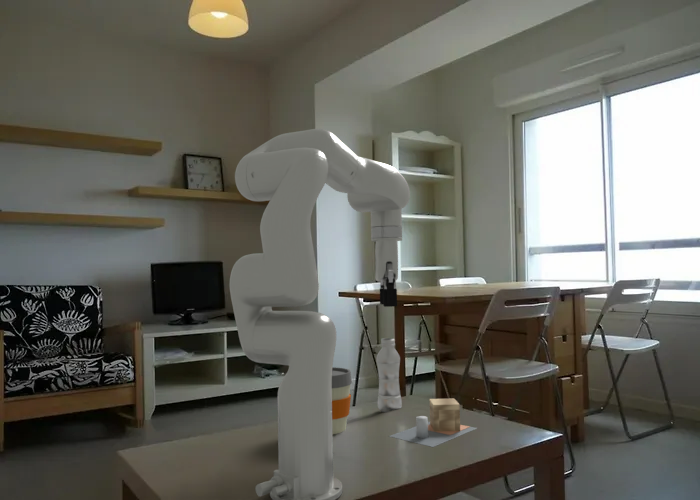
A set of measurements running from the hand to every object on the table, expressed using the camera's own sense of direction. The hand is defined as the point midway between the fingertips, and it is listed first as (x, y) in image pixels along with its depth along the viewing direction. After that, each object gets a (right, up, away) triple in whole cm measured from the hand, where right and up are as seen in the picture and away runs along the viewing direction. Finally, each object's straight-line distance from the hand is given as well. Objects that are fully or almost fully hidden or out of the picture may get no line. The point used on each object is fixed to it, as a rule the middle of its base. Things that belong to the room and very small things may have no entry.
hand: (388, 305), depth 132 cm
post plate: (+10, -30, -8) cm, 32 cm away
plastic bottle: (+2, -31, +17) cm, 36 cm away
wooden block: (+13, -28, -4) cm, 31 cm away
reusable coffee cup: (-15, -31, -3) cm, 34 cm away
